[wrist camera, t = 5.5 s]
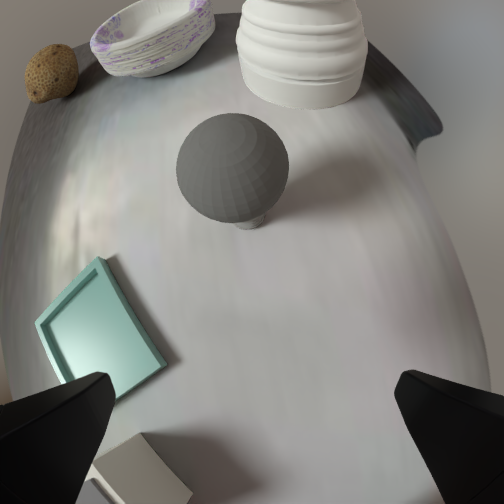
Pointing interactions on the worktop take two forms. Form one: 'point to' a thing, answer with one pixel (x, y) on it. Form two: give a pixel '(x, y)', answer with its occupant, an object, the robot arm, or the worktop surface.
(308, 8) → the honey pot
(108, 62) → the paper bowls
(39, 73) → the natural sponge
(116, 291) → the tray
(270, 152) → the light bulb
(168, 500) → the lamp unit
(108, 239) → the worktop surface
